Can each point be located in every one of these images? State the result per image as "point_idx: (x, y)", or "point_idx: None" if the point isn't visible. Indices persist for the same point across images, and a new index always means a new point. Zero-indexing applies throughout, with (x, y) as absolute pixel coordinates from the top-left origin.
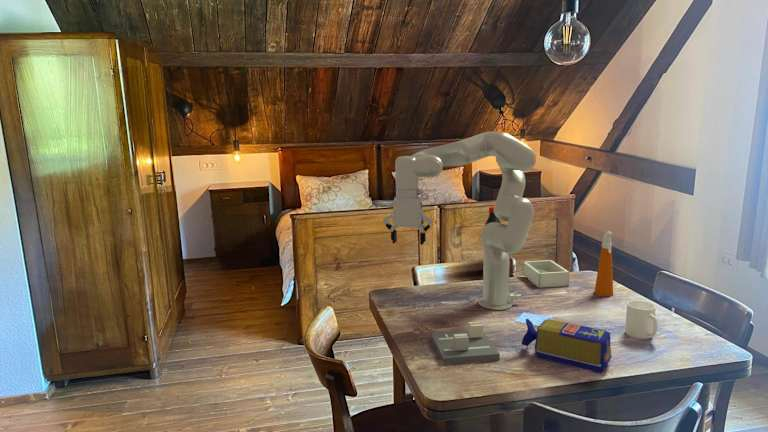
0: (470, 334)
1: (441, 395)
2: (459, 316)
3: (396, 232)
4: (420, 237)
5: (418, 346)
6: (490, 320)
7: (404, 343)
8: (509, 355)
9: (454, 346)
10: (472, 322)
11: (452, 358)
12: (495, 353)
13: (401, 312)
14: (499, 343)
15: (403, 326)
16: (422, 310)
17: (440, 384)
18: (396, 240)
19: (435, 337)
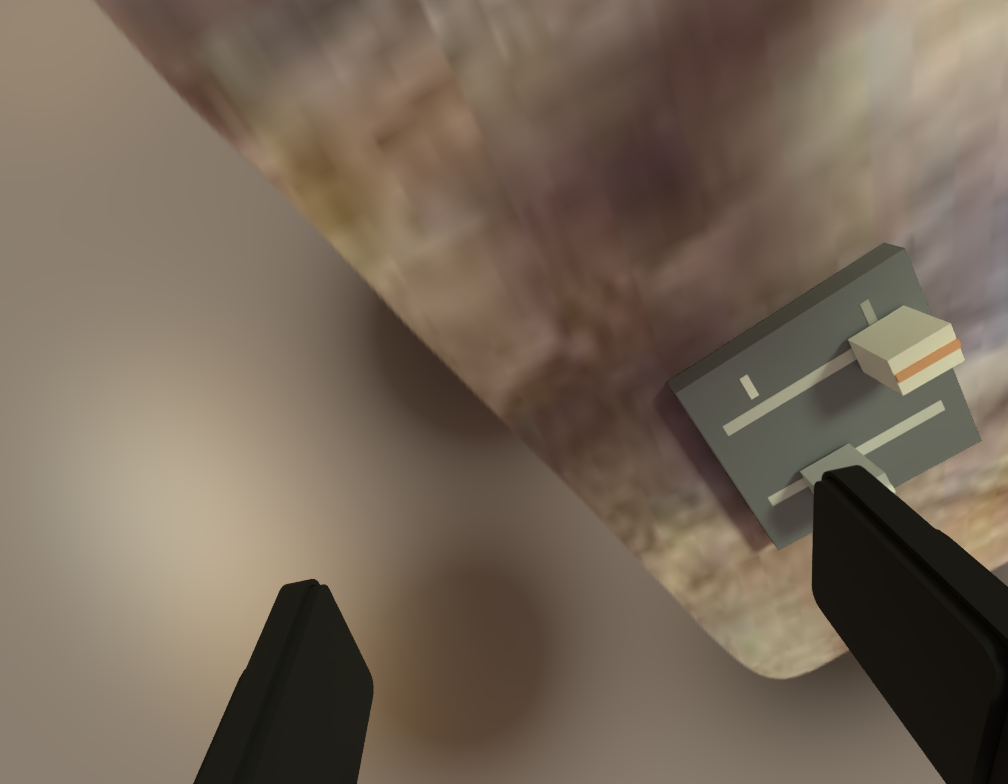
0: (869, 371)
1: (795, 662)
2: (736, 34)
3: (267, 760)
4: (906, 714)
5: (640, 461)
6: (928, 9)
7: (578, 463)
8: (1001, 377)
9: (813, 491)
10: (908, 352)
11: (806, 532)
12: (964, 444)
13: (387, 143)
14: (966, 291)
15: (495, 318)
16: (487, 44)
17: (781, 625)
18: (327, 611)
19: (707, 423)
